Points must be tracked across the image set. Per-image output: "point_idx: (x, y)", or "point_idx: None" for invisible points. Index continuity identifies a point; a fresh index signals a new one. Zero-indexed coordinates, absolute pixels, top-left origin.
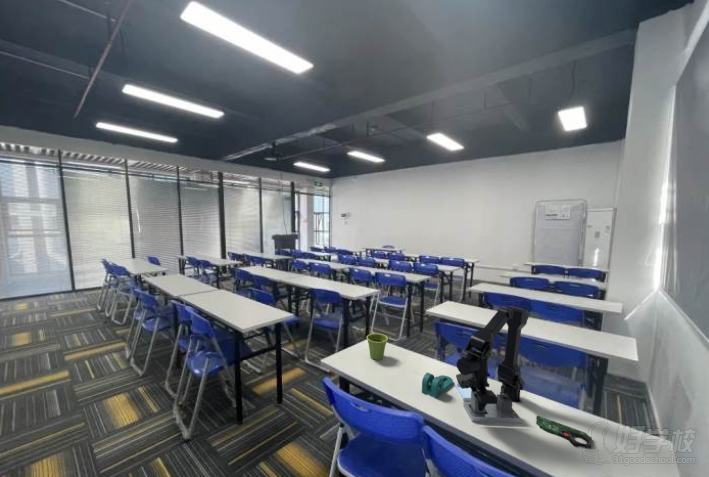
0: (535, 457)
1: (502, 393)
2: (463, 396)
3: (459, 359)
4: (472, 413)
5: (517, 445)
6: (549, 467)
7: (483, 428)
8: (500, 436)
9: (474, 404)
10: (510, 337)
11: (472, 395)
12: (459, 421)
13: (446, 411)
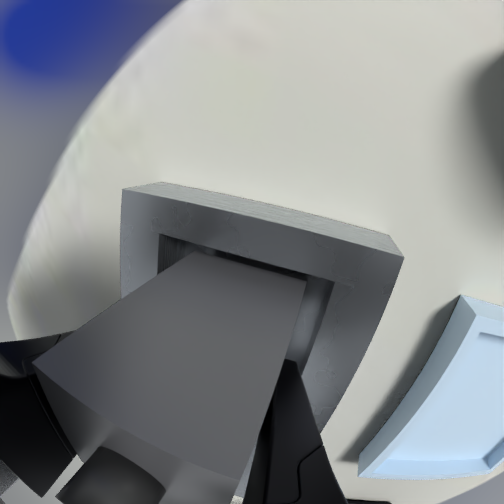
0: (28, 325)
1: None
2: (488, 328)
3: None
4: (164, 222)
5: (50, 318)
6: (15, 326)
7: (114, 239)
8: (74, 292)
9: (139, 303)
10: None
11: (175, 406)
12: (193, 78)
13: (348, 21)
